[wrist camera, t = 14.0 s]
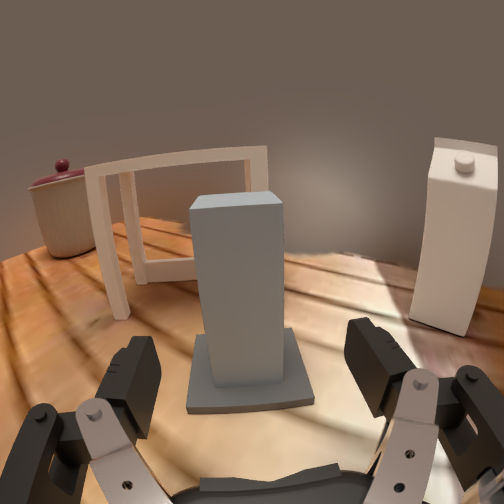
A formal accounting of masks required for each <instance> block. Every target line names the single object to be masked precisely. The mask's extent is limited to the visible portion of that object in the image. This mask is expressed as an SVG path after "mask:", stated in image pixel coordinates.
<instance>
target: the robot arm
mask: <svg viewBox="0 0 504 504" xmlns="http://www.w3.org/2000/svg"><path fill="white" fill-rule="evenodd" d="M344 357H345V361H346V363H347V365H348V367H349V369H350V371H351V373H352V375H353V377H354V379H355V381H356V383H357V385H358V387H359V389H360V391H361V393H362V395H363V397H364V399H365V401H366V403H367V405H368V407H369V409H370V411H371V413H372V415H373V417H374V418H377V417H380V416H383V415H384V416H385V418H386V422H385V424H384V427H383V429H382V432H381V435H380V438H379V441H378V443H377V446H376V449H375V451H374V454H373V456H372V459H371V461H370V463H369V465H368V467H367V469H366V471H365V473H361V472H356V471H348V470H340V469H339V466H338V463H334V464H330V465H326V466H321V467H316V468H311V469H305V470H303V471H300V472H298V473H295V474H292V475H290V476H287V477H284V478H281V479H278V480H275V481H271V482H266V481H257V480H249V479H242V478H235V477H229V478H200V486H195V487H191V488H188V489H185V490H183V491H180V492H178V493H177V494H175V495H173V496H172V497H171V496H170V494H169V493H168V492H167V491H166V489H165V488H164V487H163V486H162V484H161V483H160V482H159V480H158V479H157V478H156V476H155V475H154V473H153V472H152V470H151V469H150V468H149V466H148V465H147V463H146V462H145V460H144V459H143V457H142V456H141V454H140V452H139V451H138V449H137V448H136V446H135V445H136V441H137V439H147V437H148V432H149V427H150V423H151V418H152V414H153V410H154V405H155V401H156V397H157V393H158V388H159V384H160V380H161V366H160V362H159V359H158V356H157V352H156V349H155V346H154V342H153V339H152V337H151V336H133V337H132V338H131V340H130V342H129V345H128V347H127V348H121V349H120V350H119V351H118V352H117V353H116V354H115V355H114V356H113V358H112V360H111V363H110V366H109V367H108V369H107V373H105V375H104V377H103V380H102V382H101V384H100V386H99V388H98V391H97V393H96V395H95V398H92V399H88V400H86V401H84V402H83V403H81V404H80V405H79V407H78V408H77V410H76V411H75V412H66V413H58V412H57V411H56V409H55V408H54V407H53V406H52V405H50V404H47V403H41V404H38V405H36V406H34V407H33V408H32V409H30V411H29V412H28V414H27V416H26V418H25V420H24V422H23V424H22V426H21V429H20V431H19V433H18V435H17V437H16V440H15V442H14V444H13V447H12V449H11V451H10V454H9V456H8V459H7V461H6V464H5V467H4V469H3V472H2V475H1V477H0V504H80V502H81V496H82V491H83V487H84V482H85V477H86V473H87V469H88V464H90V466H91V468H92V471H93V473H94V475H95V477H96V479H97V481H98V483H99V485H100V487H101V489H102V491H103V493H104V495H105V497H106V499H107V501H108V502H109V504H429V503H427V502H425V501H423V497H424V494H425V491H426V487H427V483H428V480H429V476H430V472H431V468H432V463H433V459H434V454H435V449H436V443H437V438H438V439H439V441H440V443H441V445H442V447H443V449H444V451H445V453H446V455H447V457H448V459H449V461H450V463H451V465H452V467H453V469H454V471H455V473H456V475H457V477H458V479H459V481H460V484H461V486H462V488H463V490H464V492H465V493H464V495H463V498H462V504H504V397H503V396H502V395H501V393H500V392H499V391H498V389H497V388H496V387H495V386H494V384H493V383H492V382H491V381H490V379H489V378H488V377H487V376H486V375H485V373H484V372H483V371H482V370H481V369H479V368H478V367H475V366H471V365H466V366H462V367H461V368H459V369H458V371H457V373H456V375H455V377H449V378H437V377H436V375H435V374H434V373H432V372H431V371H429V370H426V369H421V368H416V366H415V365H414V364H413V362H412V361H411V360H410V359H409V357H408V356H407V355H406V353H405V352H404V351H403V350H402V348H400V346H399V345H398V343H397V342H395V339H394V338H393V337H392V336H391V334H390V333H389V332H387V331H386V330H384V329H382V328H381V327H375V326H374V325H373V323H372V322H371V321H370V319H369V318H367V317H364V318H358V319H352V320H350V321H349V322H348V327H347V334H346V341H345V347H344ZM467 414H469V416H470V417H471V419H472V420H473V422H474V424H475V425H476V427H477V430H478V436H477V434H476V433H475V431H474V429H473V428H472V426H471V425H470V423H469V421H468V420H467V418H466V416H467ZM53 454H54V457H53ZM52 457H53V460H52ZM51 460H52V464H51V467H50V470H49V473H48V469H49V466H50V463H51Z"/></svg>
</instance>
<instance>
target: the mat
mask: <svg viewBox="0 0 504 504" xmlns="http://www.w3.org/2000/svg"><path fill="white" fill-rule="evenodd" d="M314 399H315V397H314V394H313V390H312V387H311V384H310V381H309V378H308V375H307V372H306V369H305V366H304V363H303V360H302V357H301V354H300V351H299V348H298V345H297V342H296V339H295V336H294V333H293V330H292V328H285V329H284V348H283V382H282V383H272V384H262V385H250V386H236V387H215V385H214V379H213V374H212V369H211V363H210V358H209V352H208V347H207V341H206V335H205V334H201V335H196V340H195V347H194V353H193V360H192V366H191V373H190V380H189V388H188V395H187V402H186V409H187V412H188V414H219V413H240V412H254V411H265V410H275V409H283V408H291V407H298V406H305V405H312V404H314Z"/></svg>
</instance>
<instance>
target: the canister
mask: <svg viewBox="0 0 504 504" xmlns="http://www.w3.org/2000/svg"><path fill="white" fill-rule="evenodd" d="M68 168H69V161H68V160H67V159H60V160H58V161H57V162H56V163H55V169H56V170H57V172H58V173H55V174H52V175H48V176H45V177H42V178H40V179H37V180H36V181H34V182H33V183H32V184H31V187H30V188H28V191H30V193H31V197H32V201H33V205H34V209H35V212H36V216H37V220H38V223H39V227H40V230H41V233H42V236H43V239H44V242H45V244H46V247H47V249H48V251H49V252H50V254H51V255H53V256H54V257H59V258H63V257H71V256H75V255H79V254H82V253H85V252H87V251H89V250H91V249H93V248H94V247H95V246H96V245H95V240H94V235H93V229H92V224H91V218H90V212H89V205H88V198H87V190H86V182H85V173H84V168H80V169H74V170H68ZM67 170H68V171H67Z"/></svg>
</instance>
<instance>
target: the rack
mask: <svg viewBox="0 0 504 504" xmlns="http://www.w3.org/2000/svg"><path fill="white" fill-rule="evenodd" d="M229 160H244V162H245V181H246V192H264V191H269V188H268V166H267V164H268V163H267V146H247V147H229V148H215V149H204V150H193V151H183V152H175V153H167V154H159V155H151V156H145V157H139V158H132V159H126V160H121V161H114V162H109V163H104V164H99V165H94V166H89V167H85V168H84V173H85V182H86V190H87V198H88V205H89V212H90V218H91V224H92V229H93V235H94V240H95V245H96V250H97V254H98V259H99V263H100V268H101V272H102V276H103V280H104V284H105V288H106V291H107V295H108V299H109V302H110V306H111V309H112V312H113V316H114V319H115V320H127V319H128V317H129V315H130V313H131V312H130V308H129V304H128V300H127V297H126V293H125V289H124V284H123V280H122V276H121V271H120V267H119V262H118V257H117V252H116V247H115V242H114V237H113V231H112V225H111V219H110V212H109V206H108V198H107V190H106V181H105V175H111V174H116V173H119V179H120V189H121V197H122V205H123V212H124V219H125V226H126V232H127V238H128V244H129V249H130V254H131V260H132V265H133V270H134V274H135V279H136V284H137V285H143V284H147V283H148V282H167V281H185V280H197V275H196V267H195V259H194V257H191V258H176V259H161V260H146V257H145V252H144V246H143V240H142V233H141V227H140V220H139V214H138V205H137V196H136V188H135V178H134V171H136V170H142V169H150V168H157V167H165V166H174V165H182V164H193V163H203V162H215V161H229Z"/></svg>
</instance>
